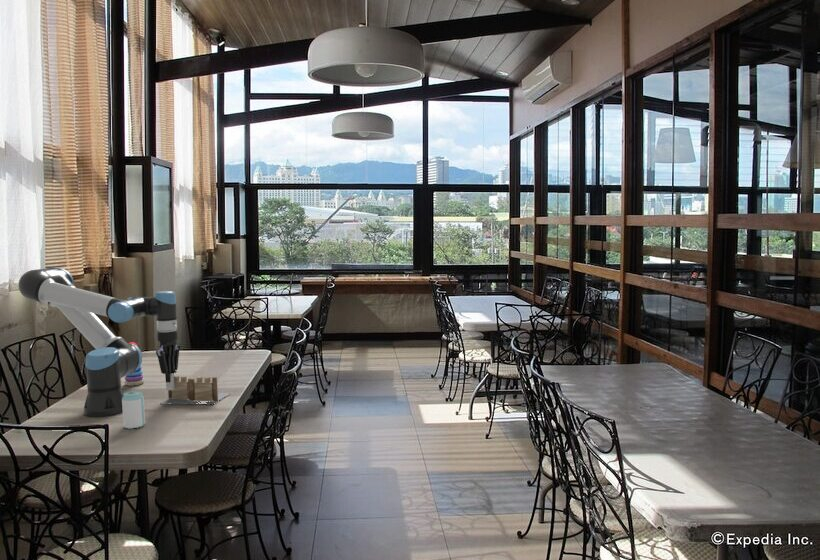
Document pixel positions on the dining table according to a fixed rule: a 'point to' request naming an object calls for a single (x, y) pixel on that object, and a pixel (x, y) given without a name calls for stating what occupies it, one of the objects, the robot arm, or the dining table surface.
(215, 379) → the fixed fence section
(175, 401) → the card
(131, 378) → the stacking toy
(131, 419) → the can
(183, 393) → the hinged fence panel
